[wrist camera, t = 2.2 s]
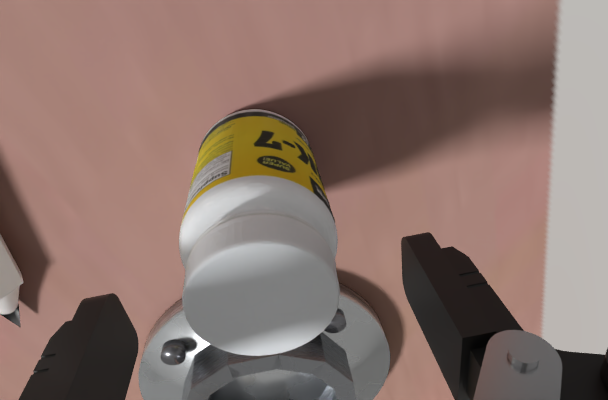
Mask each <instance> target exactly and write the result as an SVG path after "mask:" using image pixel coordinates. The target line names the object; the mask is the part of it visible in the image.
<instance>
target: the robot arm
mask: <svg viewBox="0 0 608 400" xmlns="http://www.w3.org/2000/svg"><path fill="white" fill-rule="evenodd" d="M401 249H402V278H403V286H404V290H405V294H406V297H407V299H408V302H409V304H410V306H411V308H412V310H413V312H414V314H415V316H416V319H417V321H418V323H419V325H420V327H421V329H422V331H423V333H424V335H425V338H426V340H427V342H428V344H429V346H430V348H431V350H432V352H433V354H434V357H435V359H436V361H437V363H438V365H439V367H440V369H441V371H442V373H443V376H444V378H445V380H446V382H447V384H448V386H449V388H450V390H451V393H452V395H453V397H454V399H455V400H608V349H607V352H606V355H601V354H589V353H576V352H567V351H561V350H557V349H554V348H553V347H552V346H551V345H550V344H549V343H548V342H547V341H545V340H544V339H542V338H541V337H539V336H537V335H535V334H532V333H529V332H526V331H524V330H523V329H522V328H521V327H520V325H519V324H518V323H517V321H516V320H515V319H514V317H513V316H512V315H511V313H510V312H509V311H508V309H507V308H506V307H505V305H504V304H503V303H502V301H501V300H500V298H499V297H498V296H497V294H496V293H495V292H494V290H493V289H492V288H491V286H490V285H488V284H487V281H486V280H485V278H484V277H483V276H482V274H481V273H479V270H478V269H477V268H476V266H475V265H474V264H473V262H472V261H471V260H470V258H469V257H468V256H466V255H465V254H463V253H462V252H460V251H459V250H457V249H455V248H454V247H447V248H442V249H441V248H440V246H439V245H438V243H437V242H436V240H435V239H434V237H433V236H432V234H431V233H429V232H427V233H422V234H417V235H412V236H407V237H403V238H402V241H401ZM137 353H138V337H137V333H136V331H135V328H134V327H133V325H132V323H131V321H130V319H129V317H128V315H127V313H126V311H125V309H124V308H123V306H122V304H121V302H120V300H119V298H118V297H117V295H115V294H113V293H111V294H106V295H101V296H96V297H91V298H86V299H84V300H82V301H81V303H80V305H79V307H78V309H77V311H76V313H75V315H74V317H73V319H72V321H67V322H65V323H64V324H63V325H62V326H61V327H60V329H59V330H58V331H57V332H56V333H55V334H54V335H53V336H52V337H51V338H50V340H49V342H48V344H47V346H46V348H45V350H44V351H43V353H42V355H41V360H39V361H38V363H37V365H36V367H35V369H34V371H33V372H34V374H33V375H31V377H30V379H29V381H28V383H27V385H26V386H25V388H24V390H23V392H22V394H21V396H20V398H19V400H125V397H126V394H127V390H128V387H129V383H130V379H131V376H132V372H133V368H134V365H135V361H136V357H137Z"/></svg>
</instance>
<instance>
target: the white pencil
mask: <svg viewBox="0 0 608 400" xmlns="http://www.w3.org/2000/svg"><path fill="white" fill-rule="evenodd" d="M23 283H24V282H23V278H22V274H21V272H20V270H19V268H18V266H17V264H16V262H15V260H14V259H13V257H12V255H11V253H10V251H9V249H8V247H7V246H6V244H5V242H4V240H3V238H2V236H1V234H0V314H1V315H2V316H4V317H5V318H7V319H8V320H10V321H11V322H13V323H15V324H16V325H18V326H19V327H21V326H20V315H19V305H18V298H19V288H20V285H21V284H23Z"/></svg>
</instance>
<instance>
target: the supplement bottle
mask: <svg viewBox="0 0 608 400" xmlns="http://www.w3.org/2000/svg"><path fill="white" fill-rule="evenodd" d="M337 243H338V239H337V230H336V226H335V220H334V217H333V214H332V211H331V209H330V205H329V202H328V199H327V196H326V193H325V190H324V187H323V183H322V181H321V177H320V174H319V172H318V169H317V165H316V163H315V160H314V156H313V152H312V150H311V147H310V145H309V142H308V140H307V138H306V137H305V135H304V134H303V132H302V131H301V130H300V129H299V128H298V127H297V126H296V125H295V124H294V123H293V122H291V121H290V120H288V119H287V118H285V117H283V116H281V115H279V114H277V113H274V112H271V111H267V110H261V109H249V110H243V111H238V112H235V113H232V114H230V115H228V116H226V117H224V118H222V119H221V120H220V121H218V122H217V123H216V124H215V125H214V126H213V127H212V128H211V129H210V130H209V131H208V133H207V134H206V136H205V137H204V139H203V141H202V144H201V146H200V149H199V153H198V158H197V162H196V166H195V169H194V174H193V178H192V182H191V186H190V190H189V194H188V199H187V203H186V207H185V212H184V215H183V219H182V224H181V228H180V235H179V249H180V255H181V259H182V263H183V265H184V267H185V281H184V288H183V295H182V304H183V311H184V314H185V317H186V319H187V321H188V323H189V325H190V327H191V328H192V329H193V331H194V332H195V333H196V334H197V335H198V336H199V337H200V338H202V339H203V340H204V341H206V342H207V343H209V344H211V345H213V346H215V347H217V348H219V349H221V350H224V351H227V352H230V353H234V354H240V355H249V356H262V355H272V354H278V353H283V352H286V351H290V350H292V349H295V348H297V347H300V346H302V345H304V344H306V343H308V342H309V341H311V340H312V339H314V338H315V337H317V336H318V335H319V334H320V333H321V332H323V331H324V330H325V328H326V327H327V326H328V325H329V324H330V322H331V321H332V319H333V318H334V316H335V314H336V311H337V308H338V305H339V299H340V288H339V282H338V278H337V272H336V263H335V256H336V252H337Z"/></svg>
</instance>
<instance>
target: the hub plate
mask: <svg viewBox="0 0 608 400" xmlns="http://www.w3.org/2000/svg"><path fill="white" fill-rule="evenodd" d="M339 288H340V299H339V305H338V308H337V311H336V314H335V316H334V318H333V319H332V321H331V322H330V324H329V325H328V326H327V327H326V328H325V330H324V331H323V332H321V333H320V334H319V335H318V336H317V337H315V338H314V339H312V340H311V341H309V342H308V343H306V344H304V345H302V346H300V347H297V348H295V349H292V350H290V351H286V352H283V353H278V354H272V355H262V356H249V355H240V354H234V353H230V352H227V351H224V350H221V349H219V348H217V347H215V346H213V345H211V344H209V343H207V342H206V341H204V340H203V339H202V338H200V337H199V336H198V335H197V334H196V333H195V332H194V331H193V329H192V328H191V327H190V325H189V323H188V321H187V319H186V317H185V314H184V311H183V304H182V299H180V300H179V301H177V302H176V303H175V304H174V305H172V306H171V307H170V308H169V309H168V310H167V311H166V312H165V313H164V314H163V315H162V316H161V317H160V318H159V319H158V321H157V322H156V323H155V325H154V327H153V328H152V330H151V331H150V333H149V336H148V338H147V341H146V343H145V347H144V351H143V355H142V359H141V364H140V369H139V387H140V391H141V395H142V397H143V399H144V400H373V399H374V397H375V396H376V395H377V394H378V392H379V391H380V389H381V388H382V386H383V384H384V382H385V380H386V377H387V375H388V371H389V367H390V350H389V345H388V342H387V339H386V336H385V334H384V331H383V328H382V325H381V323H380V320H379V318H378V316H377V315H376V313H375V311H374V310H373V308H372V307H371V306H370V305H369V304H368V303H367V302H366V301H365V300H364V299H363V298H362V297H361V296H359V295H358V294H357V293H356V292H354V291H352V290H351V289H349V288H347V287H346V286H344V285H342V284H340V283H339Z"/></svg>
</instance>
